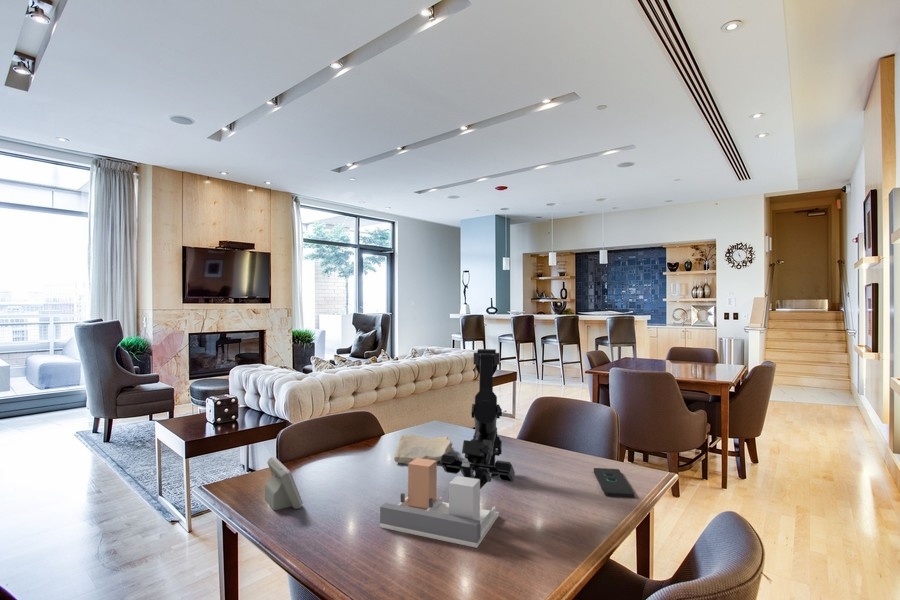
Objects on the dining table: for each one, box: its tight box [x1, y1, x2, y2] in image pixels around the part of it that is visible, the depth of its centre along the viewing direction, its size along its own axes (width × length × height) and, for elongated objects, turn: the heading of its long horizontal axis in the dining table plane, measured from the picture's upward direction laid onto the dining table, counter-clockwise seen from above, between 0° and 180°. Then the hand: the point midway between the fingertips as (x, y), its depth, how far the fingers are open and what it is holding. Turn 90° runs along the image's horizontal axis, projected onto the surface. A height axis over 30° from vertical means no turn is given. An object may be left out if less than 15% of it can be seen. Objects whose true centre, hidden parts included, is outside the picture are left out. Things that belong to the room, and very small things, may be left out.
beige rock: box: [393, 434, 453, 466], centre depth 172 cm, size 24×8×20 cm
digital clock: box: [264, 456, 304, 511], centre depth 131 cm, size 16×9×11 cm, turn 24°
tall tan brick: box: [407, 458, 438, 509], centre depth 127 cm, size 5×6×11 cm
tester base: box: [379, 493, 500, 548], centre depth 119 cm, size 17×25×5 cm
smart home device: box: [593, 467, 635, 499], centre depth 144 cm, size 8×2×20 cm
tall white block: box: [448, 475, 481, 521], centre depth 114 cm, size 5×6×11 cm
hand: (469, 500), depth 116 cm, fingers closed
